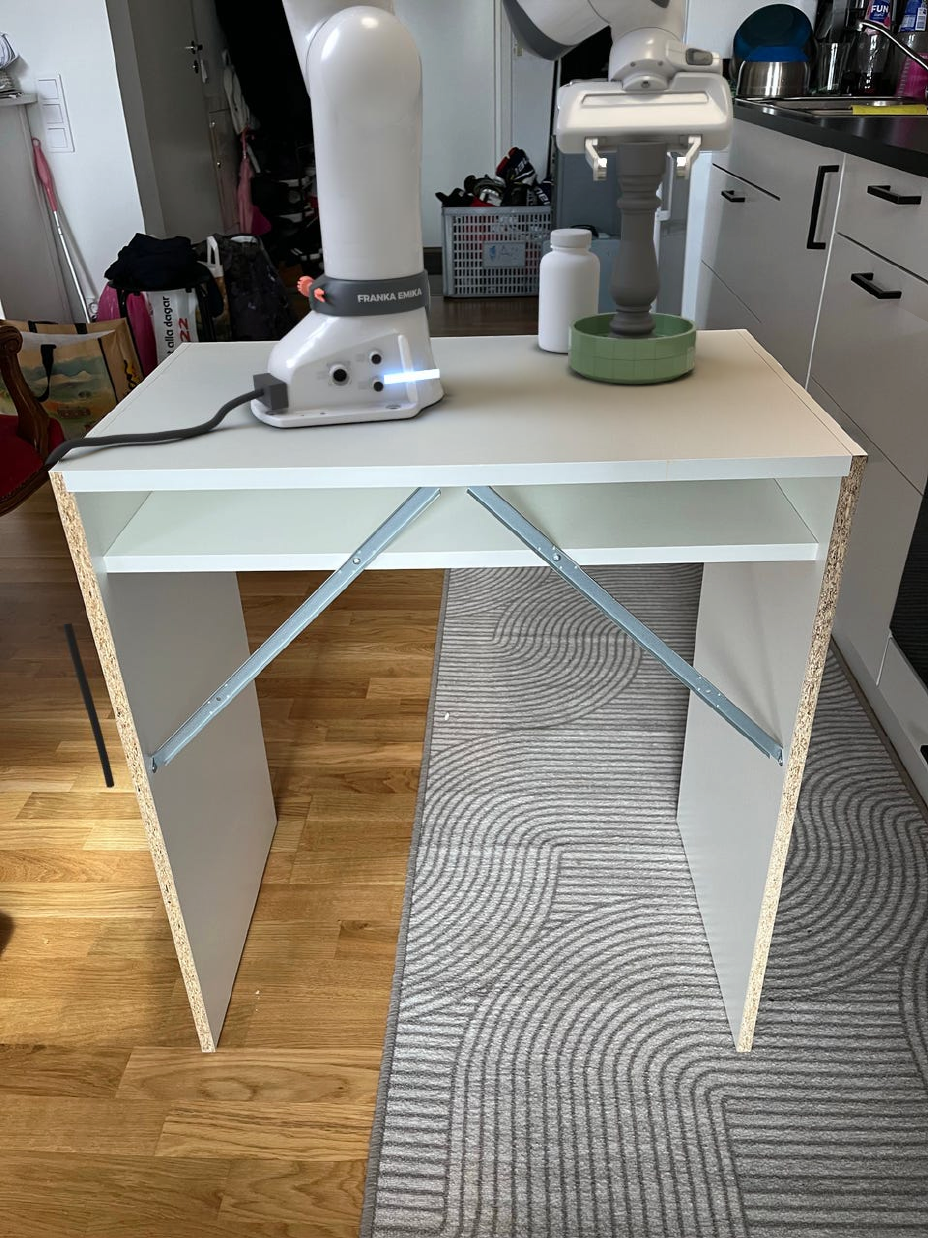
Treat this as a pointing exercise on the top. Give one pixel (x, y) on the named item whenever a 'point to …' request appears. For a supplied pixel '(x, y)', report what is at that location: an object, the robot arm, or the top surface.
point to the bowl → (632, 350)
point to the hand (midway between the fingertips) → (641, 176)
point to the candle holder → (637, 238)
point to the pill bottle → (566, 286)
